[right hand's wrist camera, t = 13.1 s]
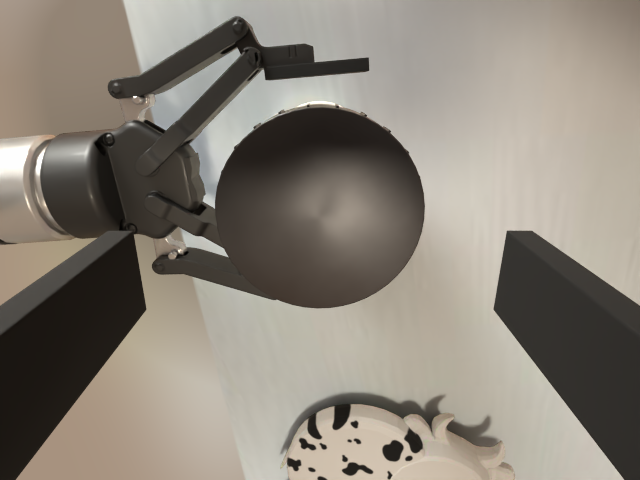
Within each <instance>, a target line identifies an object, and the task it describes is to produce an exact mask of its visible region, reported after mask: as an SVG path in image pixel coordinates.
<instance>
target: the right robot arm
mask: <svg viewBox="0 0 640 480" xmlns="http://www.w3.org/2000/svg"><path fill="white" fill-rule="evenodd" d="M145 311H146V304H145V298H144V293H143V287H142V281H141V275H140V269H139V263H138V257H137V252H136V246H135V240H134V234H133V231H107V232H106V233H104V234H103V235H101V236H100V237H98V238H97V239H96V240H94V241H93V242H91V243H90V244H88V245H87V246H86V247H84V248H83V249H81V250H80V251H78V252H77V253H75V254H74V255H73V256H71V257H70V258H68V259H67V260H65V261H64V262H63V263H61V264H60V265H58V266H57V267H55V268H54V269H52V270H51V271H50V272H48V273H47V274H45V275H44V276H42V277H41V278H40V279H38V280H37V281H35V282H34V283H32V284H31V285H29V286H28V287H27V288H25V289H24V290H22V291H21V292H19V293H18V294H16V295H15V296H14V297H12V298H11V299H9V300H8V301H6V302H5V303H4V304H2V305H1V306H0V480H16V478H17V477H18V476H19V475H20V473H21V472H22V471H23V469H24V468H25V467H26V465H27V464H28V463H29V462H30V460H31V459H32V458H33V456H34V455H35V454H36V452H37V451H38V450H39V448H40V447H41V446H42V445H43V443H44V442H45V441H46V439H47V438H48V437H49V436H50V434H51V433H52V432H53V430H54V429H55V428H56V426H57V425H58V424H59V423H60V421H61V420H62V419H63V417H64V416H65V415H66V413H67V412H68V411H69V410H70V408H71V407H72V406H73V404H74V403H75V402H76V400H77V399H78V398H79V396H80V395H81V394H82V393H83V391H84V390H85V389H86V387H87V386H88V385H89V383H90V382H91V381H92V380H93V378H94V377H95V376H96V374H97V373H98V372H99V370H100V369H101V368H102V367H103V365H104V364H105V363H106V361H107V360H108V359H109V357H110V356H111V355H112V354H113V352H114V351H115V350H116V348H117V347H118V346H119V344H120V343H121V342H122V341H123V339H124V338H125V337H126V335H127V334H128V333H129V331H130V330H131V329H132V328H133V326H134V325H135V324H136V322H137V321H138V320H139V318H140V317H141V316H142V315H143V313H144V312H145ZM494 311H495V312H496V313H497V315H498V316H499V317H500V318H501V320H502V321H503V322H504V324H505V325H506V326H507V328H508V329H509V330H510V331H511V333H512V334H513V335H514V337H515V338H516V339H517V341H518V342H519V343H520V344H521V346H522V347H523V348H524V350H525V351H526V352H527V354H528V355H529V356H530V357H531V359H532V360H533V361H534V363H535V364H536V365H537V367H538V368H539V369H540V370H541V372H542V373H543V374H544V376H545V377H546V378H547V380H548V381H549V382H550V383H551V385H552V386H553V387H554V389H555V390H556V391H557V393H558V394H559V395H560V397H561V398H562V399H563V400H564V402H565V403H566V404H567V406H568V407H569V408H570V410H571V411H572V412H573V413H574V415H575V416H576V417H577V419H578V420H579V421H580V423H581V424H582V425H583V426H584V428H585V429H586V430H587V432H588V433H589V434H590V436H591V437H592V438H593V439H594V441H595V442H596V443H597V445H598V446H599V447H600V449H601V450H602V451H603V452H604V454H605V455H606V456H607V458H608V459H609V460H610V462H611V463H612V464H613V465H614V467H615V468H616V469H617V471H618V472H619V473H620V475H621V476H622V477H623V478H624V480H640V306H639V305H638V304H636V303H635V302H634V301H632V300H631V299H629V298H628V297H626V296H625V295H624V294H622V293H621V292H619V291H618V290H616V289H615V288H613V287H612V286H611V285H609V284H608V283H606V282H605V281H603V280H602V279H601V278H599V277H598V276H596V275H595V274H593V273H592V272H590V271H589V270H588V269H586V268H585V267H583V266H582V265H580V264H579V263H577V262H576V261H575V260H573V259H572V258H570V257H569V256H567V255H566V254H565V253H563V252H562V251H560V250H559V249H557V248H556V247H554V246H553V245H552V244H550V243H549V242H547V241H546V240H544V239H543V238H541V237H540V236H539V235H537V234H536V233H534V232H533V231H507V234H506V240H505V245H504V251H503V257H502V263H501V269H500V275H499V281H498V287H497V293H496V298H495V304H494Z"/></svg>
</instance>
